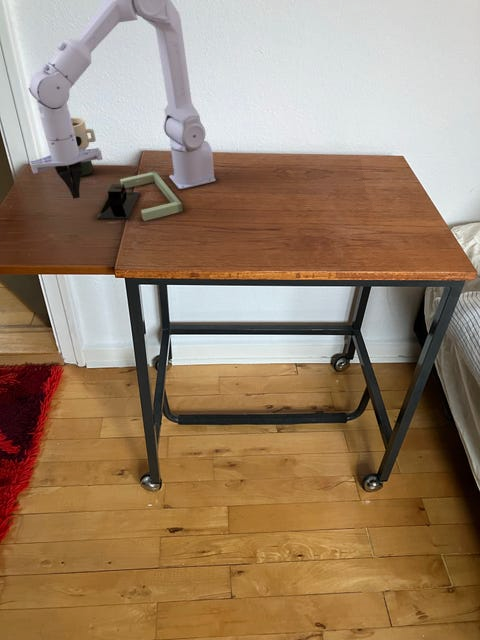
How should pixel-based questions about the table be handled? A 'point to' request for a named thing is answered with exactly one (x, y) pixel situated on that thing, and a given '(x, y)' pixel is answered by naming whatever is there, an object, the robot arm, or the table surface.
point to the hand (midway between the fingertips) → (75, 196)
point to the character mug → (83, 141)
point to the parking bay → (166, 208)
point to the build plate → (119, 203)
